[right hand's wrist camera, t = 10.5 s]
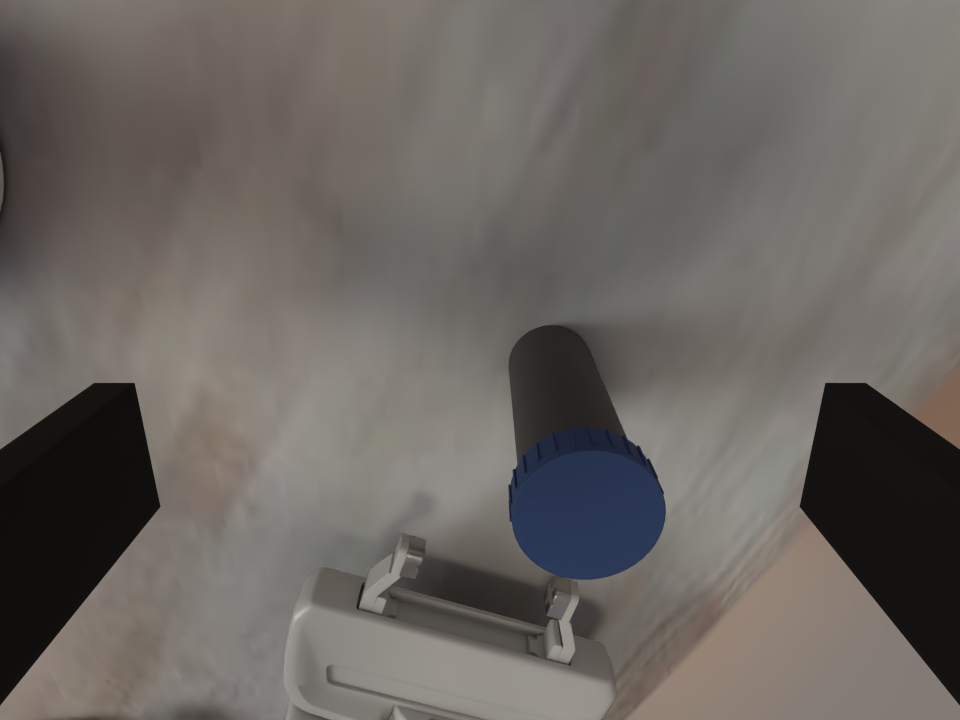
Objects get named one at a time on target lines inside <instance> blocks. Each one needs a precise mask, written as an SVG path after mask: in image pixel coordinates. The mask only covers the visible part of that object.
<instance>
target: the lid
mask: <svg viewBox="0 0 960 720" xmlns="http://www.w3.org/2000/svg"><path fill="white" fill-rule="evenodd" d="M521 458H522V459H521V460H520V462H519V463H518V465H517V467H516V469H513V477H512V480H511V485H509V514H510V522H512V526H513V532H514V535H515V538H516V540H517V542H518V544H519V546H520V548H521V549H522V550H523V552H524V553H525V554H526V555H527V556H528V558H529V559H530V560H532V561H533V562H534V563H535V564H536V565H538V566H539V567H541V568H543V569H544V570H546V571H548V572H550V573H553V574H555V575H558V576H561V577H566V578H571V579H580V580H581V579H598V578H603V577H608V576H611V575H614V574H617V573H620V572H622V571H624V570H626V569H628V568H630V567H631V566H633V565H635V564H636V563H637V562H639V561H640V560H641V559H643V558H644V557H645V556H646V555H647V554H648V553H649V552H650V550H651V549H652V548H653V547H654V545H655V544H656V542H657V540H658V539H659V537H660V534H661V532H662V530H663V526H664V522H665V514H666V510H665V501H664V496H663V494H664V492H663V490H662V488H661V486H660V483H659V481H658V479H657V478H658V477H657V474H656V472H655V470H654V468H653V466H652V464H651V462H650V460H649V459H646V457H645V455H644V454H643V453H642V450H641V448H640V447H639V446H635V445H634V444H633V443H632V442H631V441H629V440H628V439H627V437H626V436H625V435H624V436H621V435H619V434H616V433H614V432H611V431H610V430H609V429H606V430H604V429H599V428H591V427H590V426H588V427H585V428H573V429H571V427H570V428H568V429H567V430H563V431H560V432H557V433H555V434H553V433H551V434H550V436H548V437H546V438H544V439H543V440H541V441H540V442H538V443H537V442H535V443H534V446H533V447H532V448H531V449H530V450H529V451H528V452H527V453H526V454H525V455H522V456H521Z"/></svg>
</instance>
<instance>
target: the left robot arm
mask: <svg viewBox="0 0 960 720" xmlns="http://www.w3.org/2000/svg"><path fill="white" fill-rule="evenodd" d="M3 192H4V174H3V164H2V158H1V153H0V211H1V206H2V201H3ZM425 545H426V540H425V539H422V538H419V537H415V536H412V535H411V536H410V535H408V534H404V533H402V535H401V537H400V540H399V543H398V546H397V548H396V551H395V553H392V554H390V555H389V556H388V557H386V558H385V559H383V560H382V561H380V562H379V563H377V564H376V565H375V566H373V567H372V568H370V570H369V573H368V576H367V578H363V577H360V576H356V575H352V574H349V573H345V572H341V571H338V570H334V569H331V568H326V567H324V568H321V569H318V570H316V571H315V572H313V573H311V574H310V575H308V576H307V577H306V579H305V581H304V584H303V586H302V589H301V591H300V594H299V597H298V600H297V603H296V606H295V609H294V612H293V616H292V619H291V623H290V627H289V632H288V637H287V642H286V649H285V656H284V667H283V683H284V688H285V691H286V694H287V696H288V697H289V701H288V705H287V710H286V714H285V719H284V720H601V719H602V718H603V717H604V715H605V714H606V713H607V711H608V710H609V708H610V707H611V705H612V703H613V702H614V700H615V697H616V681H615V675H614V671H613V667H612V663H611V660H610V658H609V655H608V653H607V651H606V649H605V647H604V645H603V644H602V643H600V642H598V641H595V640H591V639H587V638H584V637H580V636H576V635H573V631H572V625H571V617H572V615H573V613H574V611H575V609H576V607H577V605H578V602H579V590H578V586H577V582H574V581H571V580H567V579H563V578H559V577H555V576H553V577H552V578H551V580H550V584H551V585H549V586H547V588H546V591H545V593H544V602H545V603H546V607H545V610H546V616H549V617H552V618H556V619H558V620H559V622H558V621H557V620H554V619H551V620H550V621H549V623H548V625H547V627H543V626H539V625H536V624H532V623H528V622H525V621H521V620H517V619H514V618H510V617H506V616H503V615H499V614H495V613H492V612H488V611H484V610H481V609H477V608H473V607H470V606H466V605H462V604H459V603H455V602H451V601H448V600H444V599H440V598H437V597H433V596H429V595H426V594H422V593H418V592H415V591H411V590H407V589H404V588H400V587H396V586H393V585H392V584H393V583H394V582H396V581H397V580H398V579H399V578H401V576H402V577H406V578H410V579H414V580H415V579H416V576H417V574H418V571H419V566H420V565H421V563H422V560H423V557H424V553H425V548H424V547H425Z"/></svg>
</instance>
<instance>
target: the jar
mask: <svg viewBox="0 0 960 720" xmlns="http://www.w3.org/2000/svg"><path fill="white" fill-rule="evenodd" d="M509 375H510V386H511V397H512V408H513V419H514V430H515V442H516V453H517V464H518V463H519V462H520V460H521V459H522V458H521V456H522V455H525V454H526V453H527V452H528V451H529V450H530V449H531V448H532V447H533V446H534V443H535V442H537V443H538V442H540V441H541V440H543V439H544V438H546V437H548V436H550V434H551V433H553V434H555V433H557V432H560V431H563V430H567V429H568V428H570V427H571V429H573V428H585V427H588V426H590V427H591V428H599V429H604V430H606V429H609V430H610V431H611V432H614V433H616V434H619V435H621V436H624V435H625V432H624V430H623V428H622V425H621V423H620V421H619V418H618V416H617V414H616V411H615V409H614V407H613V404H612V402H611V400H610V397H609V395H608V393H607V390H606V388H605V385H604V383H603V381H602V378H601V376H600V374H599V371H598V369H597V367H596V364H595V362H594V360H593V357H592V355H591V353H590V350H589V348H588V346H587V344H586V343H585V341H584V340H583V339H582V338H581V337H580V336H579V335H578V334H576V333H575V332H573V331H571V330H570V329H567V328H564V327H560V326H544V327H540V328H536V329H534V330H532V331H530V332H528V333H527V334H525V335H524V336H523V337H522V338H521V339H519V341H518V342H517V343H516V344H515V346H514V348H513V350H512V352H511V355H510V359H509ZM625 436H626V435H625Z"/></svg>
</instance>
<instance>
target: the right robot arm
mask: <svg viewBox="0 0 960 720" xmlns="http://www.w3.org/2000/svg"><path fill="white" fill-rule="evenodd" d="M159 508H160V503H159V498H158V493H157V488H156V484H155V479H154V474H153V469H152V465H151V460H150V455H149V450H148V445H147V441H146V436H145V431H144V426H143V421H142V417H141V412H140V407H139V402H138V397H137V393H136V388H135V383H94V384H92V385H91V386H89V387H88V388H87V389H85V390H84V391H82V392H81V393H80V394H78V395H77V396H75V397H74V398H72V399H71V400H70V401H68V402H67V403H65V404H64V405H63V406H61V407H60V408H58V409H57V410H55V411H54V412H53V413H51V414H50V415H48V416H47V417H46V418H44V419H43V420H41V421H40V422H39V423H37V424H36V425H34V426H33V427H31V428H30V429H29V430H27V431H26V432H24V433H23V434H22V435H20V436H19V437H17V438H16V439H15V440H13V441H12V442H10V443H9V444H7V445H6V446H5V447H3V448H2V449H0V705H1V704H2V702H3V701H4V700H5V699H6V698H7V696H8V695H9V694H10V693H11V691H12V690H13V689H14V688H15V686H16V685H17V684H18V683H19V681H20V680H21V679H22V678H23V676H24V675H25V674H26V673H27V671H28V670H29V669H30V668H31V666H32V665H33V664H34V663H35V662H36V660H37V659H38V658H39V657H40V655H41V654H42V653H43V652H44V650H45V649H46V648H47V647H48V645H49V644H50V643H51V642H52V640H53V639H54V638H55V637H56V635H57V634H58V633H59V632H60V631H61V629H62V628H63V627H64V626H65V624H66V623H67V622H68V621H69V619H70V618H71V617H72V616H73V614H74V613H75V612H76V611H77V609H78V608H79V607H80V606H81V604H82V603H83V602H84V601H85V599H86V598H87V597H88V596H89V595H90V593H91V592H92V591H93V590H94V588H95V587H96V586H97V585H98V583H99V582H100V581H101V580H102V578H103V577H104V576H105V575H106V573H107V572H108V571H109V570H110V568H111V567H112V566H113V565H114V563H115V562H116V561H117V560H118V559H119V557H120V556H121V555H122V554H123V552H124V551H125V550H126V549H127V547H128V546H129V545H130V544H131V542H132V541H133V540H134V539H135V537H136V536H137V535H138V534H139V532H140V531H141V530H142V529H143V528H144V526H145V525H146V524H147V523H148V521H149V520H150V519H151V518H152V516H153V515H154V514H155V513H156V511H157V510H158V509H159ZM800 508H801V509H802V510H803V511H804V513H805V514H806V515H807V516H808V518H809V519H810V520H811V521H812V523H813V524H814V525H815V526H816V528H817V529H818V530H819V531H820V532H821V534H822V535H823V536H824V537H825V539H826V540H827V541H828V542H829V544H830V545H831V546H832V547H833V549H834V550H835V551H836V552H837V554H838V555H839V556H840V557H841V559H842V560H843V561H844V562H845V564H846V565H847V566H848V567H849V568H850V570H851V571H852V572H853V573H854V575H855V576H856V577H857V578H858V580H859V581H860V582H861V583H862V585H863V586H864V587H865V588H866V590H867V591H868V592H869V593H870V595H871V596H872V597H873V598H874V599H875V601H876V602H877V603H878V604H879V606H880V607H881V608H882V609H883V611H884V612H885V613H886V614H887V616H888V617H889V618H890V619H891V621H892V622H893V623H894V624H895V626H896V627H897V628H898V629H899V631H900V632H901V633H902V634H903V635H904V637H905V638H906V639H907V640H908V642H909V643H910V644H911V645H912V647H913V648H914V649H915V650H916V652H917V653H918V654H919V655H920V657H921V658H922V659H923V660H924V662H925V663H926V664H927V665H928V666H929V668H930V669H931V670H932V671H933V673H934V674H935V675H936V676H937V678H938V679H939V680H940V681H941V683H942V684H943V685H944V686H945V688H946V689H947V690H948V691H949V693H950V694H951V695H952V696H953V697H954V699H955V700H956V701H957V702H958V704H959V705H960V449H958V448H957V447H955V446H954V445H953V444H951V443H950V442H948V441H947V440H945V439H944V438H943V437H941V436H940V435H938V434H937V433H936V432H934V431H933V430H931V429H930V428H929V427H927V426H926V425H924V424H923V423H921V422H920V421H919V420H917V419H916V418H914V417H913V416H912V415H910V414H909V413H907V412H906V411H905V410H903V409H902V408H900V407H899V406H897V405H896V404H895V403H893V402H892V401H890V400H889V399H888V398H886V397H885V396H883V395H882V394H880V393H879V392H878V391H876V390H875V389H873V388H872V387H871V386H869V385H868V384H866V383H825V388H824V393H823V397H822V402H821V407H820V412H819V417H818V421H817V426H816V431H815V436H814V441H813V445H812V450H811V455H810V460H809V465H808V469H807V474H806V479H805V484H804V488H803V493H802V498H801V503H800Z"/></svg>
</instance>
